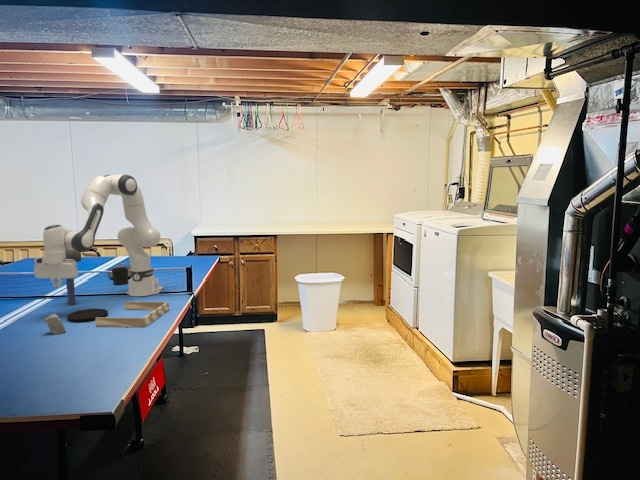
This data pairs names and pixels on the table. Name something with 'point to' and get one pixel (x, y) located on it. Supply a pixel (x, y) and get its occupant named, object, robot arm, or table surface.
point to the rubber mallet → (70, 282)
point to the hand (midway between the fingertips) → (57, 287)
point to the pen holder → (120, 276)
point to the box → (135, 322)
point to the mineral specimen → (55, 324)
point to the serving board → (118, 267)
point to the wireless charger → (86, 315)
